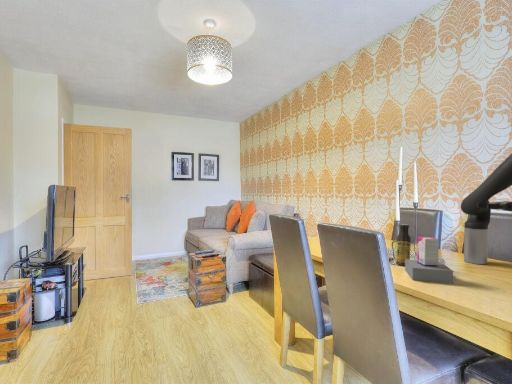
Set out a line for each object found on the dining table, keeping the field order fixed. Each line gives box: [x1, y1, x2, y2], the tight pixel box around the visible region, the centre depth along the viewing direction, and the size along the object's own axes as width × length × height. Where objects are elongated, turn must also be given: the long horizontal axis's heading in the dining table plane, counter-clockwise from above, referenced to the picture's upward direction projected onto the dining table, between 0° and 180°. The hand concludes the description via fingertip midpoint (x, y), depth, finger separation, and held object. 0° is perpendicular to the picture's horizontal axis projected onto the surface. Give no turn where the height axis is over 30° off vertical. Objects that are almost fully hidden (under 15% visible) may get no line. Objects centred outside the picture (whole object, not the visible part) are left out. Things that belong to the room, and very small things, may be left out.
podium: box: [404, 259, 454, 285], centre depth 115 cm, size 14×14×5 cm
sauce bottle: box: [394, 223, 412, 267], centre depth 133 cm, size 7×6×20 cm
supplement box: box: [416, 236, 440, 266], centre depth 115 cm, size 6×6×12 cm
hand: (482, 205), depth 115 cm, fingers open, 8 cm apart
